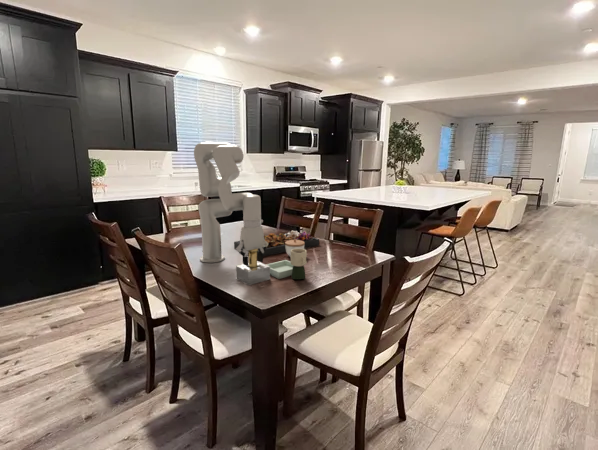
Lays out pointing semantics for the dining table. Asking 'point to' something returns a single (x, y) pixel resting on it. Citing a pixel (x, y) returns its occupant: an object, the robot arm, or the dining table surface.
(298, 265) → the character mug
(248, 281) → the white square-hole block
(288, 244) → the lidded jar
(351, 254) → the dining table surface
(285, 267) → the tray
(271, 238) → the food platter
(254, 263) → the pin
